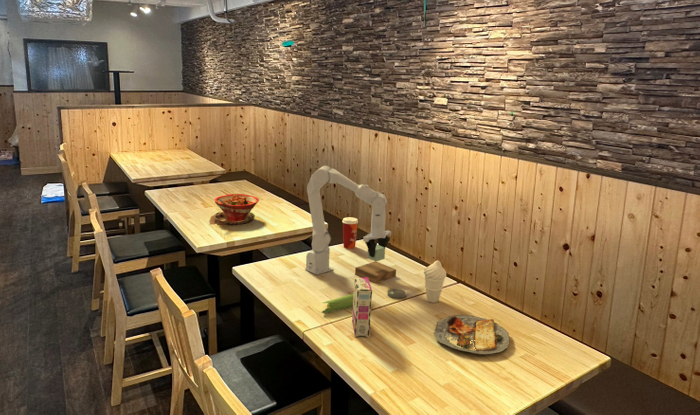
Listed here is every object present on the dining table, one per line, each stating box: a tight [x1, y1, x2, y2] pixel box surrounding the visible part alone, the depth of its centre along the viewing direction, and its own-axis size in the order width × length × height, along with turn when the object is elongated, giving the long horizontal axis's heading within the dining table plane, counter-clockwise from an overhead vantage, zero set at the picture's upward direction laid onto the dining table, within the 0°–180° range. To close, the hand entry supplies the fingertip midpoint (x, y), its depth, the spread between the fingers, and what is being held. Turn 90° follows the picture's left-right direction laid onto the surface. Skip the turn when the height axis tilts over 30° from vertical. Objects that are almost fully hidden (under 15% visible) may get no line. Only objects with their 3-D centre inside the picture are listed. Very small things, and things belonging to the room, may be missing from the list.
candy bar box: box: [351, 276, 373, 338], centre depth 174 cm, size 11×5×16 cm, turn 5°
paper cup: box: [341, 216, 359, 250], centre depth 255 cm, size 8×8×14 cm
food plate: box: [433, 314, 510, 355], centre depth 173 cm, size 25×23×4 cm
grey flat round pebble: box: [386, 288, 407, 300], centre depth 204 cm, size 7×7×2 cm
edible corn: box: [321, 293, 354, 314], centre depth 191 cm, size 5×20×5 cm
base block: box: [354, 261, 397, 284], centre depth 222 cm, size 12×12×3 cm
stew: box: [208, 193, 260, 226], centre depth 290 cm, size 28×24×16 cm
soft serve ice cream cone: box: [423, 260, 447, 304], centre depth 199 cm, size 8×8×16 cm
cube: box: [367, 244, 386, 262], centre depth 221 cm, size 5×5×5 cm
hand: (376, 255), depth 221 cm, fingers closed on cube, 5 cm apart
